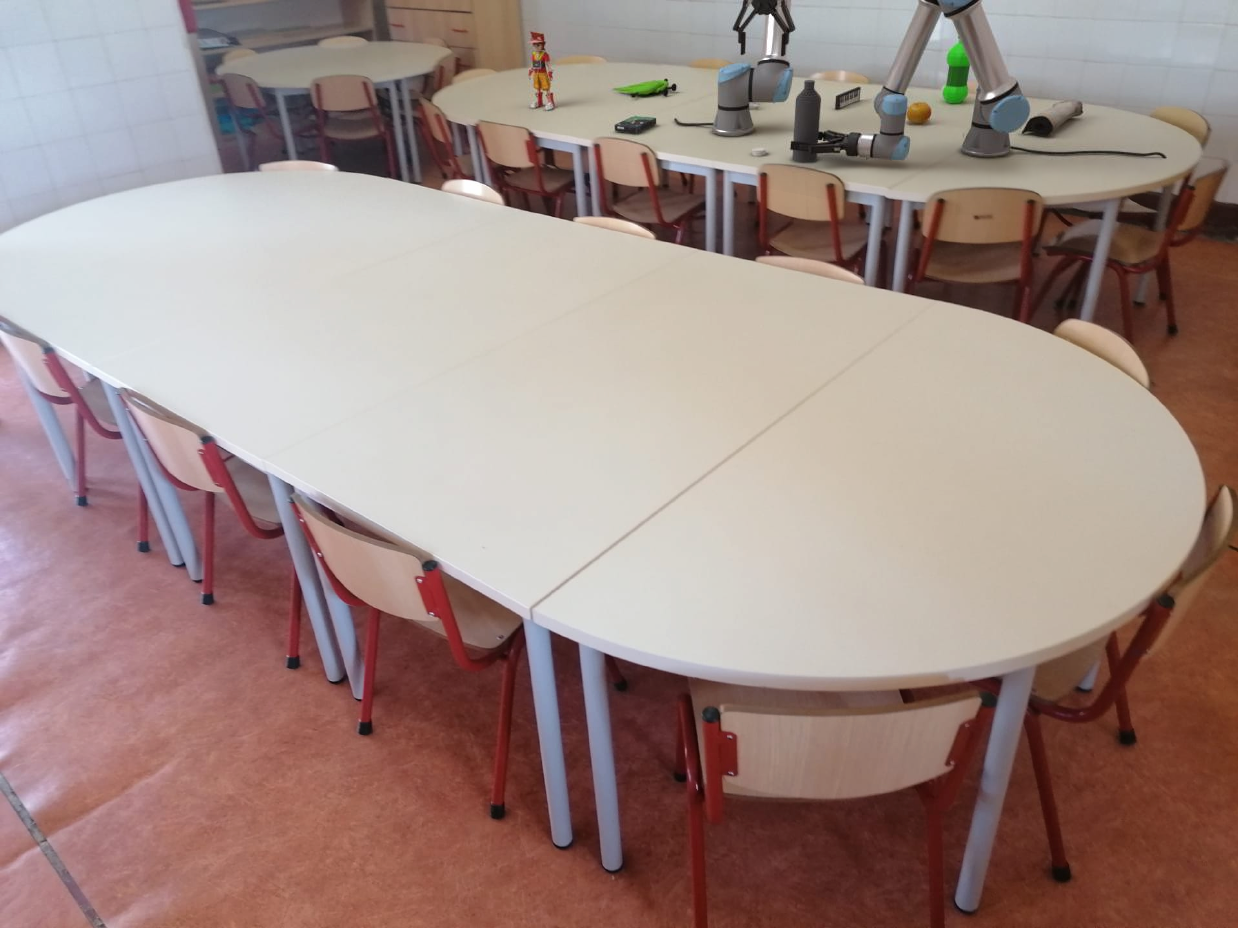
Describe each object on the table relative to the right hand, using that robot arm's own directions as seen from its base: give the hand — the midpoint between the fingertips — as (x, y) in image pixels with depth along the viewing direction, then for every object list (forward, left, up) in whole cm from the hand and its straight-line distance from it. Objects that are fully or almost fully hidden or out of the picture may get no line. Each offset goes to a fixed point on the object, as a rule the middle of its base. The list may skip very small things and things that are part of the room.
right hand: (797, 140), depth 301 cm
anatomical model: (+12, -75, -6) cm, 76 cm away
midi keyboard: (-29, -69, -6) cm, 76 cm away
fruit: (-49, -38, -6) cm, 63 cm away
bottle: (-3, +1, -6) cm, 7 cm away
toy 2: (+55, -108, -6) cm, 122 cm away
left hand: (+12, -7, +26) cm, 29 cm away
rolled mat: (-94, -25, -6) cm, 97 cm away
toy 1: (+97, -88, -6) cm, 131 cm away
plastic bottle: (-70, -66, -6) cm, 97 cm away
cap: (+12, -7, -5) cm, 14 cm away
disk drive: (+56, -47, -6) cm, 73 cm away
